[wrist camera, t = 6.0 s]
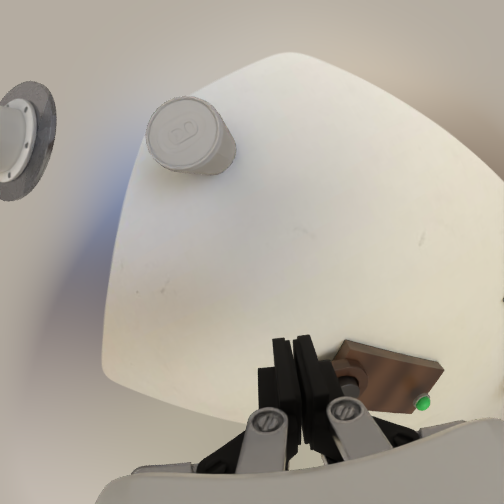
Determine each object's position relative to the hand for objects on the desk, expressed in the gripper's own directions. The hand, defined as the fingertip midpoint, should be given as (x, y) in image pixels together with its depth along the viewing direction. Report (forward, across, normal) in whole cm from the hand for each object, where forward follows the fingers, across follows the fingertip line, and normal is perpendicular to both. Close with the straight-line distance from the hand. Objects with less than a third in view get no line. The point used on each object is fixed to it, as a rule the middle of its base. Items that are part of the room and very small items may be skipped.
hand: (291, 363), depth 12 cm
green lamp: (+13, -20, +22) cm, 32 cm away
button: (+14, -7, +16) cm, 22 cm away
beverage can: (+18, +5, -11) cm, 22 cm away
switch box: (+17, -13, +19) cm, 29 cm away
